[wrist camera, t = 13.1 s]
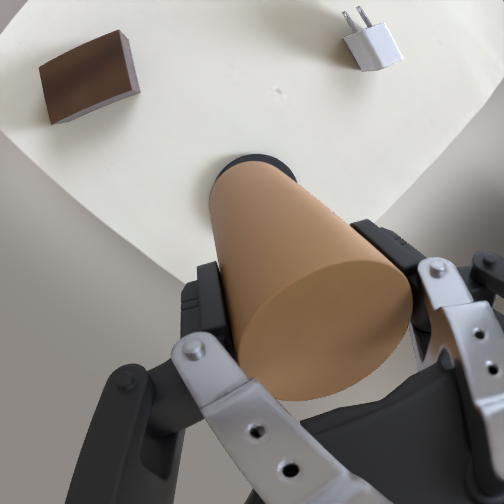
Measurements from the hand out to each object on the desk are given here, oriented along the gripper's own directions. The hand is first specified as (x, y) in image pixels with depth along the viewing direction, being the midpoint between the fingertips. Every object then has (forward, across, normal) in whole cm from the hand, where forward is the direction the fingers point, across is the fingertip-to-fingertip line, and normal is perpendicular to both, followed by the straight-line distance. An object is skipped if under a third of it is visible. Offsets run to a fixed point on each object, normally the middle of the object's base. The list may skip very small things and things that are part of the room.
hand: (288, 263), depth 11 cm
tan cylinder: (+6, 0, +4) cm, 7 cm away
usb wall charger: (+20, -16, -11) cm, 28 cm away
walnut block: (+20, +10, -13) cm, 26 cm away
